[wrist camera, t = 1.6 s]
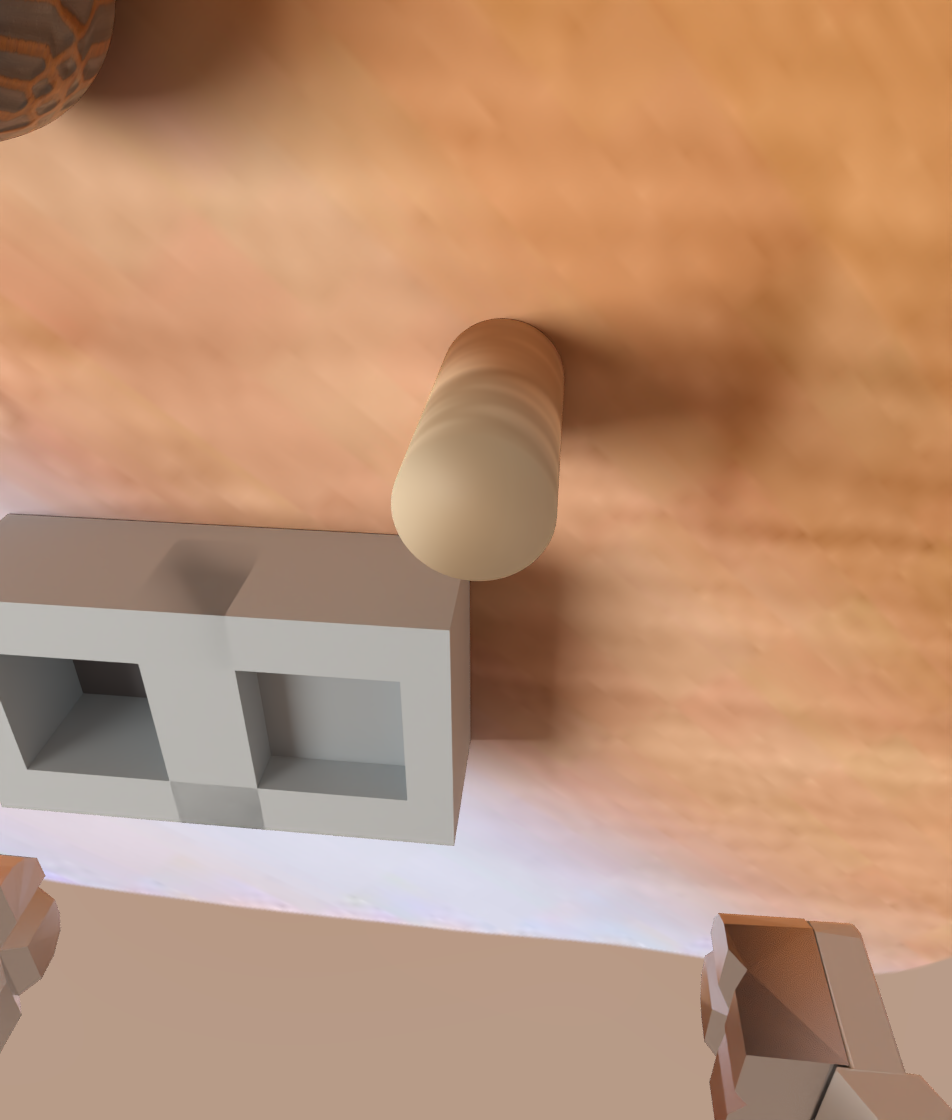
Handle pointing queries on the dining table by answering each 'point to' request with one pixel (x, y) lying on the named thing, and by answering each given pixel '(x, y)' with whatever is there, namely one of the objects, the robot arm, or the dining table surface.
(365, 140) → the dining table surface
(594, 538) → the dining table surface
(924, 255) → the dining table surface
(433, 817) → the bore block
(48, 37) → the vase
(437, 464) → the dowel
